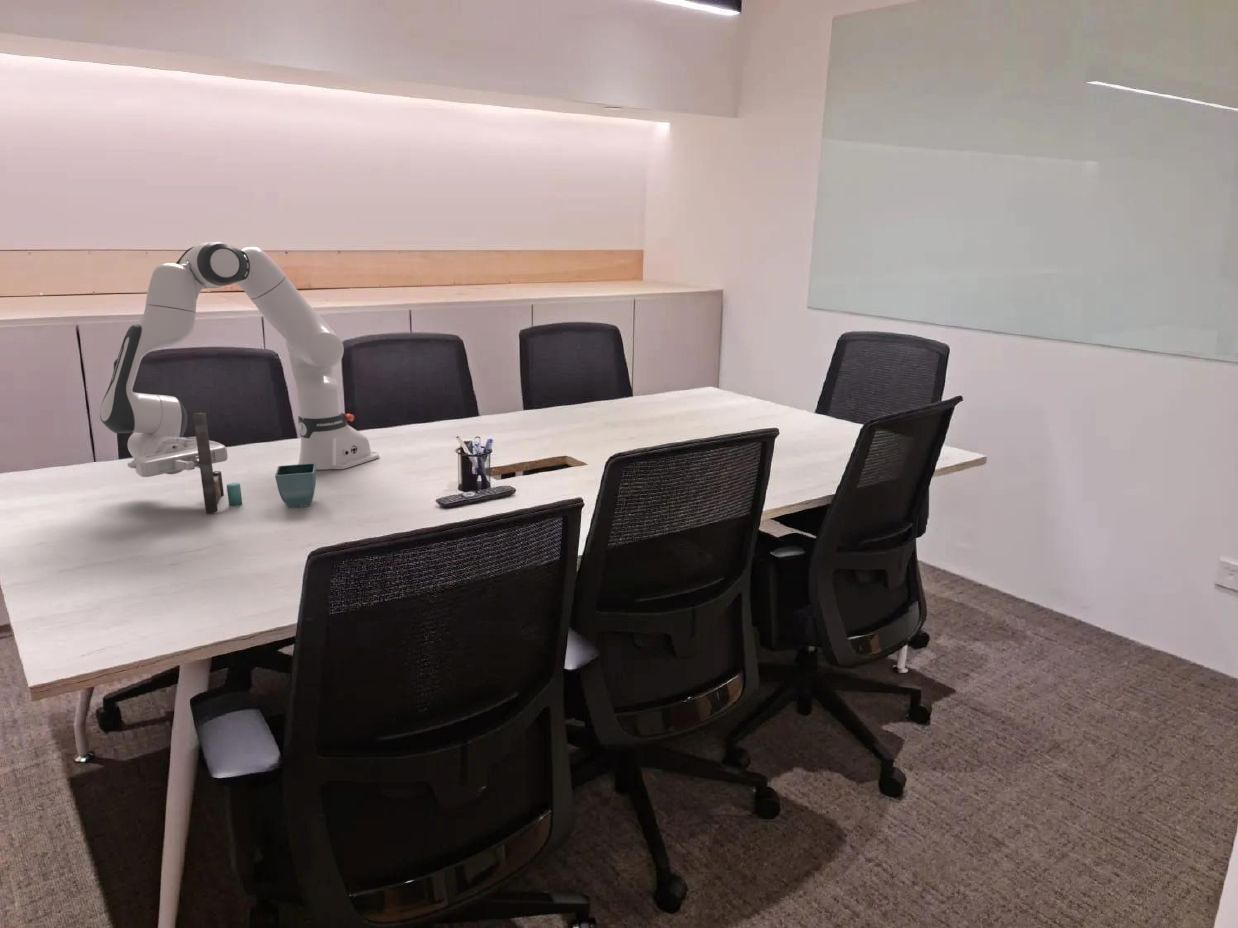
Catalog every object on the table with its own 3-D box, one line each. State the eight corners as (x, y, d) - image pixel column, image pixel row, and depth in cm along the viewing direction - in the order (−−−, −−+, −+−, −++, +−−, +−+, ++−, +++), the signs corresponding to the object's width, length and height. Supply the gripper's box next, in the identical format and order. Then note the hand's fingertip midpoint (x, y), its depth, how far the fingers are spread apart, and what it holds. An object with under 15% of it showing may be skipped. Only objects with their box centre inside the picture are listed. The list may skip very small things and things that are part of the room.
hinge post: (221, 493, 225) (218, 470, 223) (225, 495, 223) (222, 472, 222) (211, 495, 223) (208, 472, 221) (216, 497, 221) (213, 474, 220)
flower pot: (278, 511, 211) (274, 475, 209) (281, 500, 219) (278, 465, 217) (317, 508, 213) (313, 472, 211) (319, 497, 221) (315, 462, 219)
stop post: (238, 501, 218) (236, 482, 217) (244, 504, 216) (242, 484, 215) (226, 504, 216) (224, 484, 214) (232, 507, 214) (230, 487, 213)
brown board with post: (212, 495, 221) (200, 403, 215) (223, 494, 222) (212, 402, 216) (205, 513, 208) (192, 415, 201) (217, 512, 208) (204, 414, 202)
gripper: (122, 450, 206) (148, 461, 197) (209, 435, 221) (236, 444, 212) (126, 477, 207) (152, 488, 199) (212, 459, 223) (239, 469, 214)
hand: (196, 465), depth 206 cm, fingers closed
